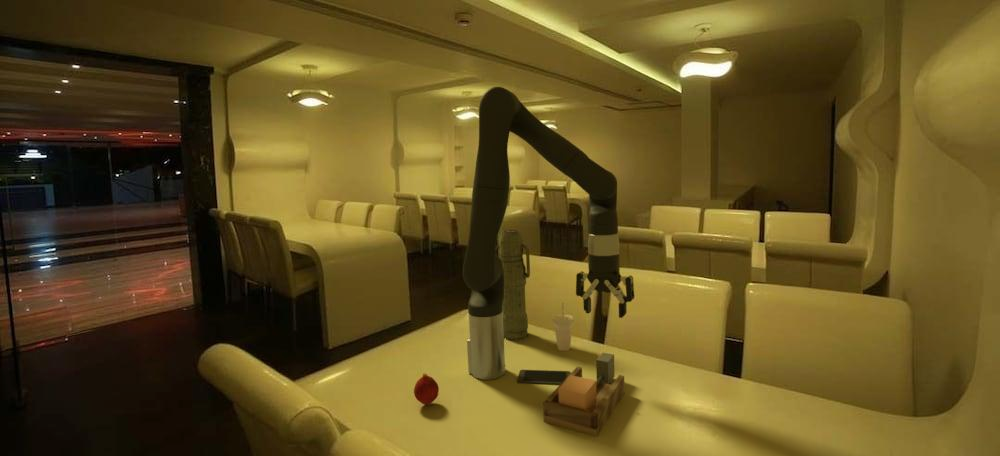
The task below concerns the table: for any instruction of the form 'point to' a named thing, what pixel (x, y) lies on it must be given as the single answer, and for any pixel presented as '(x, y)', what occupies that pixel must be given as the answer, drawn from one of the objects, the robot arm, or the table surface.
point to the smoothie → (563, 330)
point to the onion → (426, 389)
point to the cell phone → (542, 377)
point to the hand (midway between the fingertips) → (604, 314)
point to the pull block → (587, 385)
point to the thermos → (514, 284)
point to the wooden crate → (582, 418)
